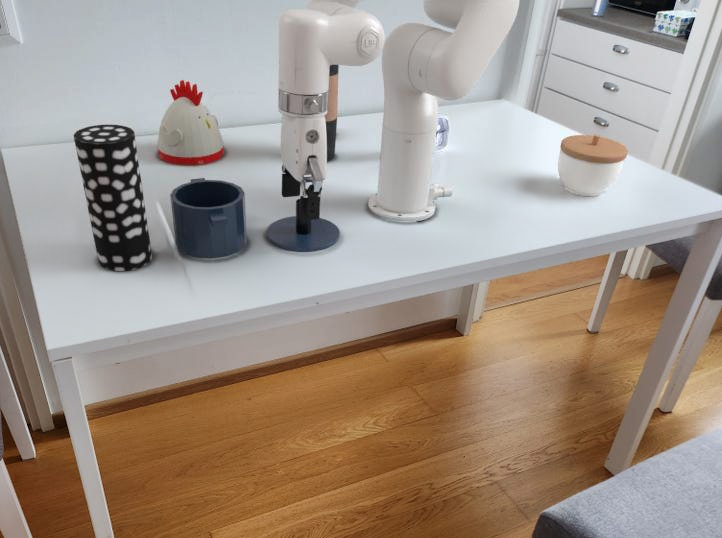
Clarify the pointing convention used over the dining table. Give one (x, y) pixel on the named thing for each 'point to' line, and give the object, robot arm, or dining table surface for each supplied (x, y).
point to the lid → (303, 233)
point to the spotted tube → (114, 196)
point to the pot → (209, 218)
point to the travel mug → (332, 111)
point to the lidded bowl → (590, 163)
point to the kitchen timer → (189, 130)
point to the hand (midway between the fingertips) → (299, 207)
